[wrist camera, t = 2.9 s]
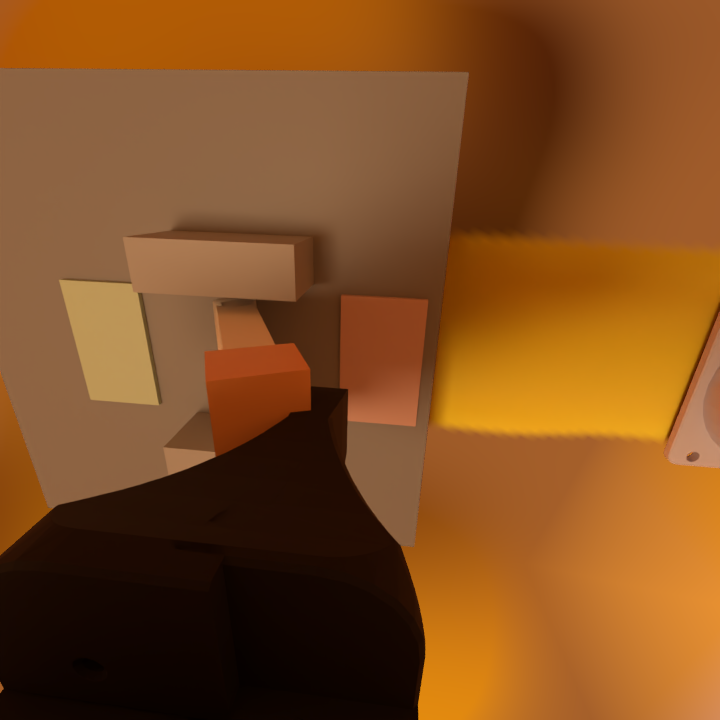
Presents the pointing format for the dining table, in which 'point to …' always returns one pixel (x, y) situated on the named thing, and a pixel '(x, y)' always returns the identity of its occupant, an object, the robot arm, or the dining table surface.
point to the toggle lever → (250, 376)
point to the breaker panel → (212, 182)
